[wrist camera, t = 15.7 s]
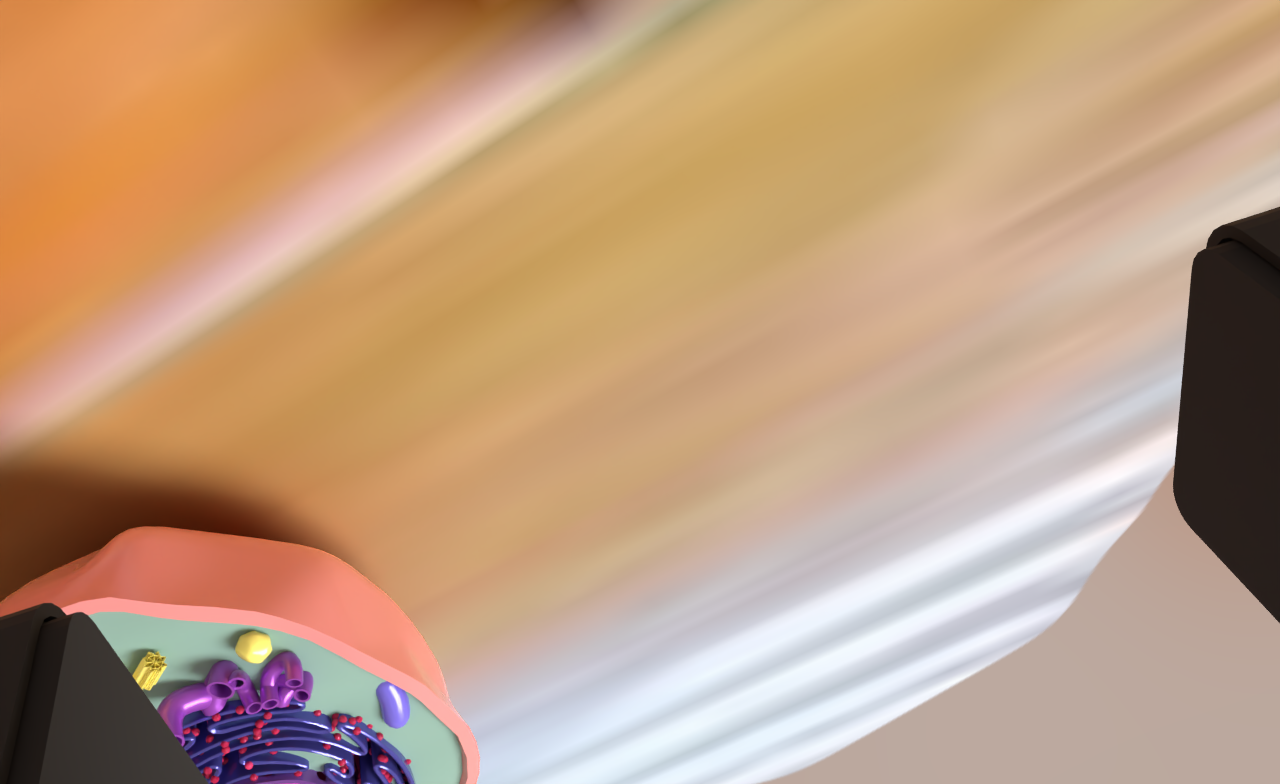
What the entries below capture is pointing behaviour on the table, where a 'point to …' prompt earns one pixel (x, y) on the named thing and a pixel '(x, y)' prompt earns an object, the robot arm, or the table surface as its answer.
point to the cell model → (268, 659)
